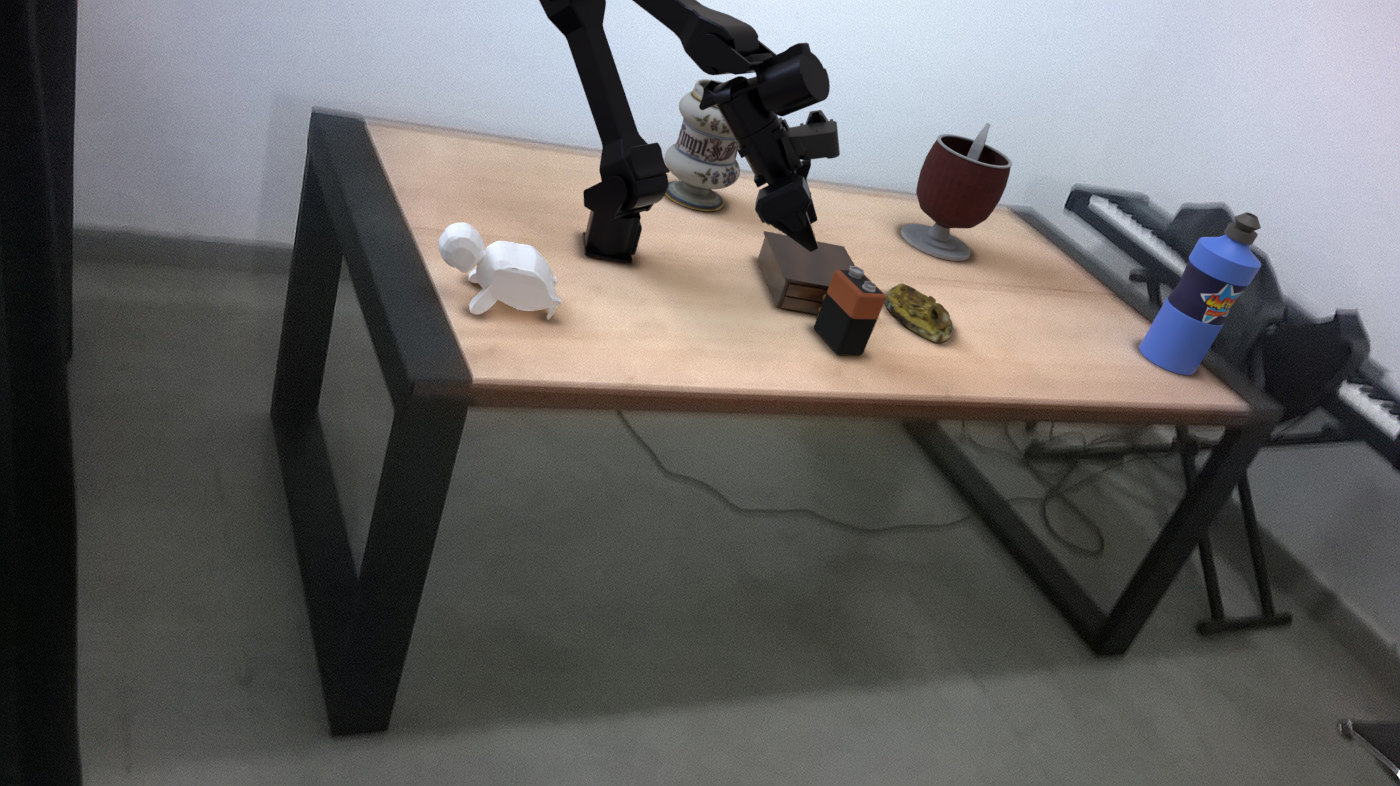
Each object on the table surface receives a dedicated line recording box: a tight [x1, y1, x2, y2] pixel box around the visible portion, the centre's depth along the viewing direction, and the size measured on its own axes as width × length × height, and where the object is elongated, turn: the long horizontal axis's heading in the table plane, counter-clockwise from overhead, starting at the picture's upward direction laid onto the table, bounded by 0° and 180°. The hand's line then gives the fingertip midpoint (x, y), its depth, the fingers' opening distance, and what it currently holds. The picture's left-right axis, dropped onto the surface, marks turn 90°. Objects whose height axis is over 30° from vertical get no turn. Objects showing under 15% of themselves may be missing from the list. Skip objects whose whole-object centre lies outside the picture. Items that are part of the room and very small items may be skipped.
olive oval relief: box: [884, 283, 954, 344], centre depth 154 cm, size 9×5×15 cm
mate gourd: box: [900, 122, 1013, 262], centre depth 178 cm, size 16×14×20 cm
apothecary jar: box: [664, 78, 741, 212], centre depth 165 cm, size 12×12×18 cm
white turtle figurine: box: [438, 221, 562, 321], centre depth 123 cm, size 9×8×15 cm
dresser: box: [756, 230, 856, 315], centre depth 150 cm, size 13×16×5 cm
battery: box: [813, 265, 886, 356], centre depth 138 cm, size 4×7×10 cm, turn 25°
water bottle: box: [1138, 212, 1262, 376], centre depth 161 cm, size 9×9×25 cm
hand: (814, 235), depth 133 cm, fingers open, 9 cm apart
